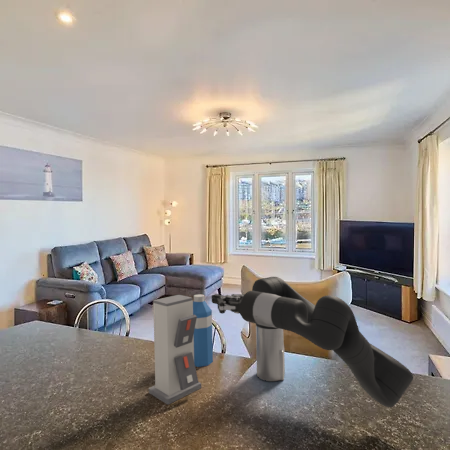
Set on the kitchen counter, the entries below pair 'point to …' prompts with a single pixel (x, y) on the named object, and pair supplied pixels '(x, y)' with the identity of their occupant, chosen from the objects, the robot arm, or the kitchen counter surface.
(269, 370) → the robot arm
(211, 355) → the water bottle
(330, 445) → the kitchen counter surface
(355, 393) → the kitchen counter surface
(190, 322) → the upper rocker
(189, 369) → the lower rocker
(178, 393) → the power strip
